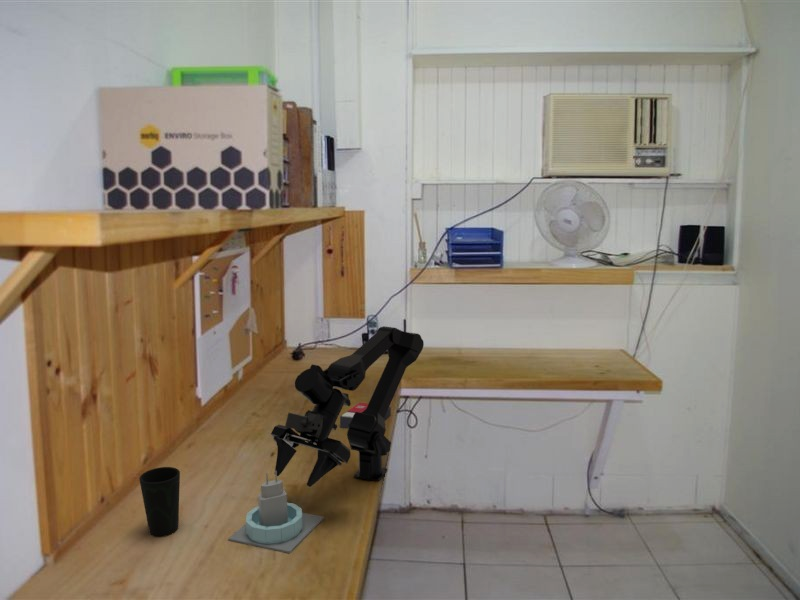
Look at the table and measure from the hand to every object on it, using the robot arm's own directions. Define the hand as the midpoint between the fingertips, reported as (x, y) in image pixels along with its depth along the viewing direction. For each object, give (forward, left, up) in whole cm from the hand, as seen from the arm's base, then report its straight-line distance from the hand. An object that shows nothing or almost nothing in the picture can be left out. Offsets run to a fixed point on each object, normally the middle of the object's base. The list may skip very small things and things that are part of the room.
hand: (292, 480), depth 129 cm
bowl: (+5, -1, -9) cm, 10 cm away
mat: (+4, -1, -9) cm, 10 cm away
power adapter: (+5, -1, -8) cm, 10 cm away
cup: (+12, -23, -9) cm, 28 cm away
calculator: (-60, -9, -10) cm, 62 cm away
